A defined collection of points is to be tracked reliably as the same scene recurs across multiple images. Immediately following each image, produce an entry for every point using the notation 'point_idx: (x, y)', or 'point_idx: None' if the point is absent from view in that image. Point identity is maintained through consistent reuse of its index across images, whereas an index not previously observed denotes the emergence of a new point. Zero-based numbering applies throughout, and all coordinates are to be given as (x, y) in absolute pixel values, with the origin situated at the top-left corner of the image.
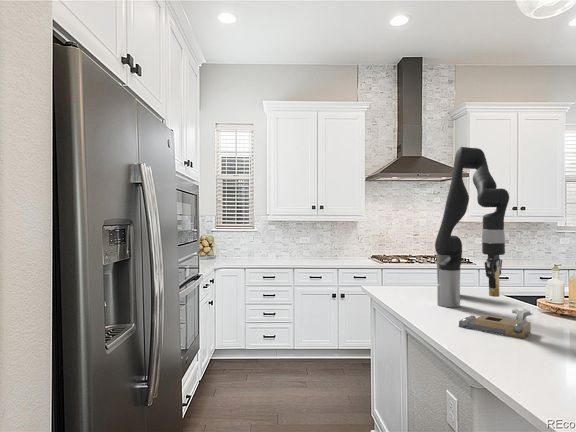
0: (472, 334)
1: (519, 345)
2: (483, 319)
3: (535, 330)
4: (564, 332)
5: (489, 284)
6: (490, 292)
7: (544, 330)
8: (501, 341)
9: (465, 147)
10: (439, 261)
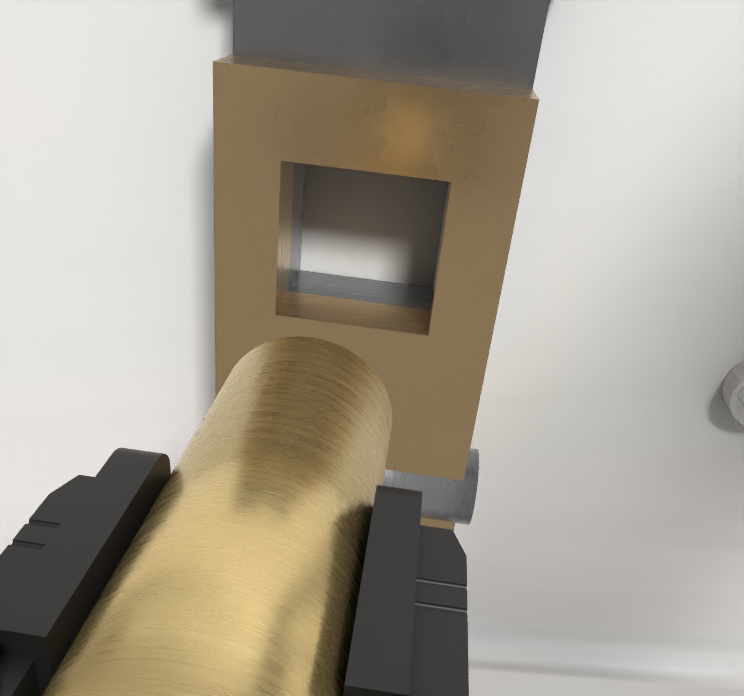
0: (52, 62)
1: (54, 425)
2: (255, 155)
3: (573, 504)
4: (626, 651)
5: (35, 513)
6: (215, 401)
7: (613, 554)
8: (48, 315)
9: None
10: None
